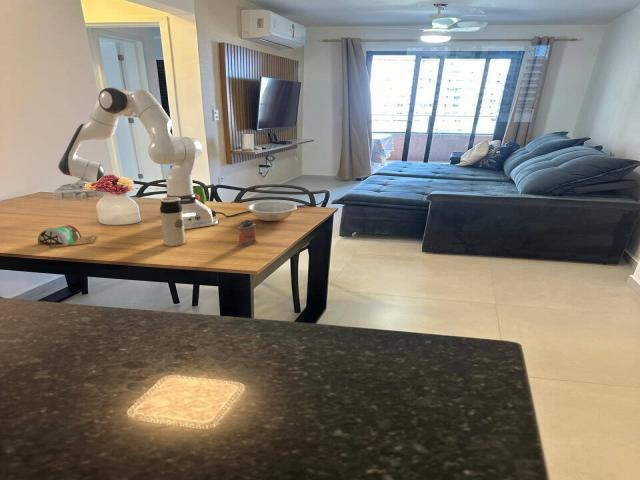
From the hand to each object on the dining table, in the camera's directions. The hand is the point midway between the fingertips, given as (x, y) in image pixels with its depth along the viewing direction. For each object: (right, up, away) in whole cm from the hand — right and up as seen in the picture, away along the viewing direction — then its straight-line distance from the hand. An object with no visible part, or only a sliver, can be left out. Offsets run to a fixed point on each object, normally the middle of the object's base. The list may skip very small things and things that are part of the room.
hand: (77, 196), depth 166 cm
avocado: (+40, -1, +41) cm, 57 cm away
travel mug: (+48, -20, -14) cm, 54 cm away
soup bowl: (+82, -9, +21) cm, 85 cm away
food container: (+5, -15, -12) cm, 19 cm away
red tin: (+77, -20, -13) cm, 80 cm away
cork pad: (+8, -19, -15) cm, 26 cm away
